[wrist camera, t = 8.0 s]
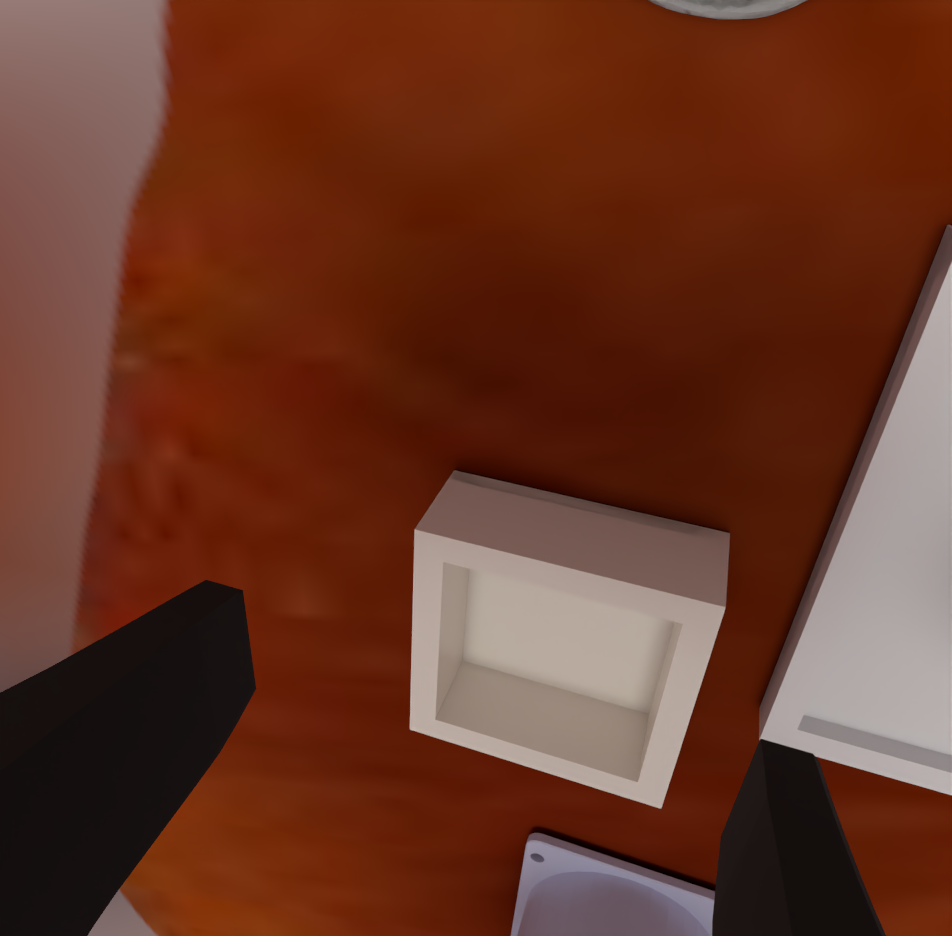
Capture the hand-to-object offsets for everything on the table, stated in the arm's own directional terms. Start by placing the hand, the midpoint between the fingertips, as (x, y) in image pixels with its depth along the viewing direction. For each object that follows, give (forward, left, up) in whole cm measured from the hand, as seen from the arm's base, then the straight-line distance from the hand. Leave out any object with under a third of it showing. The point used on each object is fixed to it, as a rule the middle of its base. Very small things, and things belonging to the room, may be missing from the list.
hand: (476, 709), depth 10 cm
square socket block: (-7, 0, -10) cm, 13 cm away
